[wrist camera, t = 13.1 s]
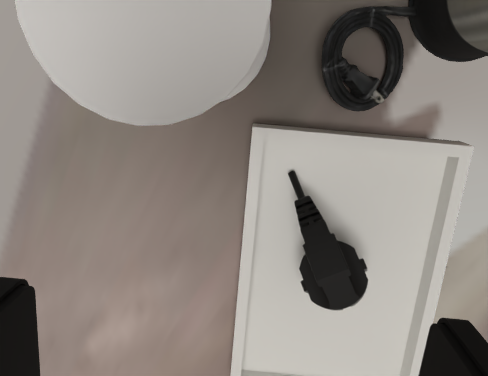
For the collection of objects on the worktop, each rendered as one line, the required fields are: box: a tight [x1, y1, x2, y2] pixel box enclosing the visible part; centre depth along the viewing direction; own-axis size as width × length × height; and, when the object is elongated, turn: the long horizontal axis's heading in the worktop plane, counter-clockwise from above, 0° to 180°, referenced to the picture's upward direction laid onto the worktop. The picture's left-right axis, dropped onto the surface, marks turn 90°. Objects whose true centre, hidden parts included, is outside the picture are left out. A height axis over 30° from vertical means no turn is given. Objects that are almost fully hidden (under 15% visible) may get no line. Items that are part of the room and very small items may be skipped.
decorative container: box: [15, 0, 271, 126], centre depth 26 cm, size 12×12×18 cm
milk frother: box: [322, 0, 488, 111], centre depth 27 cm, size 14×16×15 cm
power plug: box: [288, 171, 368, 310], centre depth 37 cm, size 6×8×12 cm
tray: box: [230, 123, 474, 376], centre depth 39 cm, size 26×18×2 cm
